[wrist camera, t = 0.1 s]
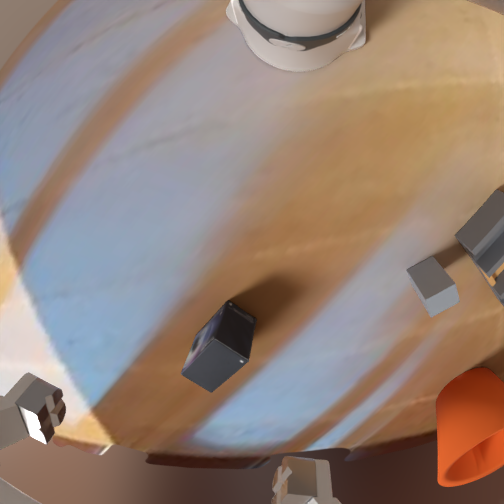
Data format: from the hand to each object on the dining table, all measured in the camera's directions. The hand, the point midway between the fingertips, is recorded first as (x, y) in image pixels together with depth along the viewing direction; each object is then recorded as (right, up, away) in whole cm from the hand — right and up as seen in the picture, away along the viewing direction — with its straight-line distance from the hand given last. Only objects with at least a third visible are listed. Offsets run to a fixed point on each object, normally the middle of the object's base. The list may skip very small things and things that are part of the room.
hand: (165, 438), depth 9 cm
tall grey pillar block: (+30, +3, +38) cm, 49 cm away
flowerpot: (+53, -26, +49) cm, 77 cm away
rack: (+46, +7, +35) cm, 58 cm away
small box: (-2, -7, +46) cm, 47 cm away
